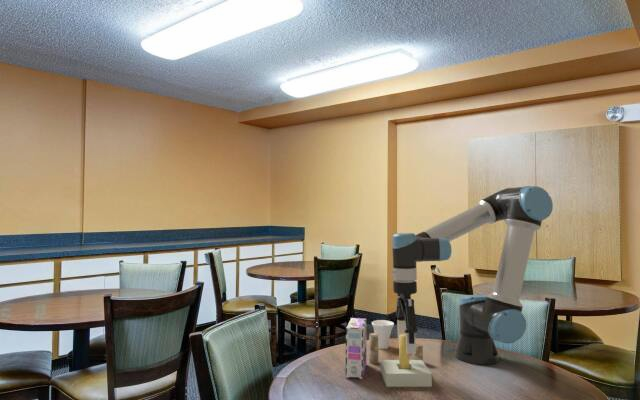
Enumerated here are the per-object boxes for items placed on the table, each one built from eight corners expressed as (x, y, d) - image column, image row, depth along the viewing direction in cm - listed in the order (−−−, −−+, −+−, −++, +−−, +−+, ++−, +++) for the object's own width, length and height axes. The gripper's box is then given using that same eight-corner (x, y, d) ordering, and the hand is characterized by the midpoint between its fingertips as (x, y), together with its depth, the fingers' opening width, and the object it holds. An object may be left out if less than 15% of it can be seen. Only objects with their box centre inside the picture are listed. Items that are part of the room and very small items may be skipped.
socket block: (421, 372, 140) (421, 360, 141) (431, 386, 128) (431, 373, 129) (380, 371, 140) (380, 360, 140) (386, 386, 128) (386, 373, 128)
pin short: (421, 361, 151) (421, 344, 151) (423, 364, 148) (423, 347, 148) (412, 361, 151) (412, 344, 151) (414, 364, 148) (414, 347, 148)
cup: (371, 350, 162) (371, 324, 163) (372, 343, 172) (372, 318, 172) (394, 351, 161) (394, 325, 161) (394, 344, 170) (393, 319, 170)
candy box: (363, 379, 134) (363, 328, 134) (345, 378, 135) (345, 327, 135) (366, 364, 147) (367, 317, 148) (350, 363, 148) (350, 317, 149)
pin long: (408, 377, 136) (408, 334, 136) (410, 381, 133) (410, 336, 133) (398, 377, 136) (398, 333, 136) (400, 381, 133) (400, 336, 133)
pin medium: (377, 360, 151) (377, 333, 151) (379, 364, 148) (379, 335, 148) (368, 360, 151) (368, 333, 151) (370, 364, 148) (370, 335, 148)
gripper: (386, 275, 148) (388, 335, 147) (401, 287, 123) (402, 360, 122) (407, 274, 148) (409, 334, 147) (426, 287, 123) (428, 359, 122)
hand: (406, 346), depth 135 cm, fingers open, 13 cm apart
